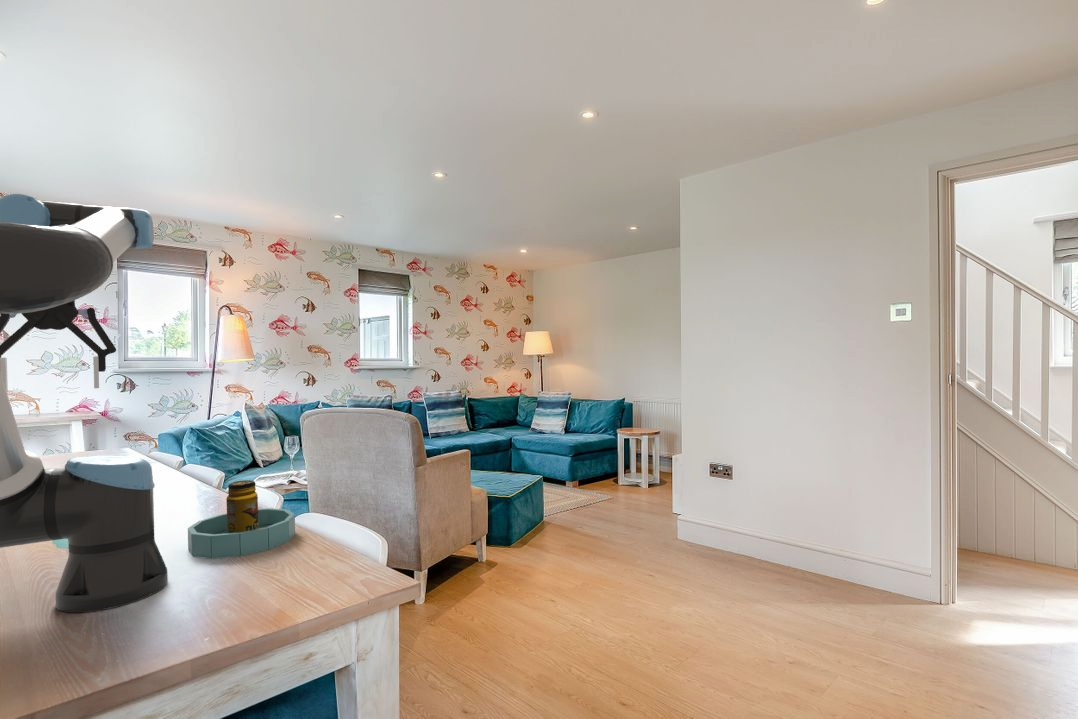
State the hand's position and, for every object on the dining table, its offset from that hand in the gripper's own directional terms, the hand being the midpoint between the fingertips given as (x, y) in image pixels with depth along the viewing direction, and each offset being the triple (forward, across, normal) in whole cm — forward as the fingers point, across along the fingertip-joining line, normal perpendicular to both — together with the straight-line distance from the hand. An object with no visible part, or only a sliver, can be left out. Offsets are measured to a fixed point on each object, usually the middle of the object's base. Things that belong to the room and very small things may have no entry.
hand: (52, 390), depth 108 cm
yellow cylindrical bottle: (+34, -30, +10) cm, 46 cm away
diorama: (+35, -4, -21) cm, 41 cm away
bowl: (+35, -31, +10) cm, 48 cm away
